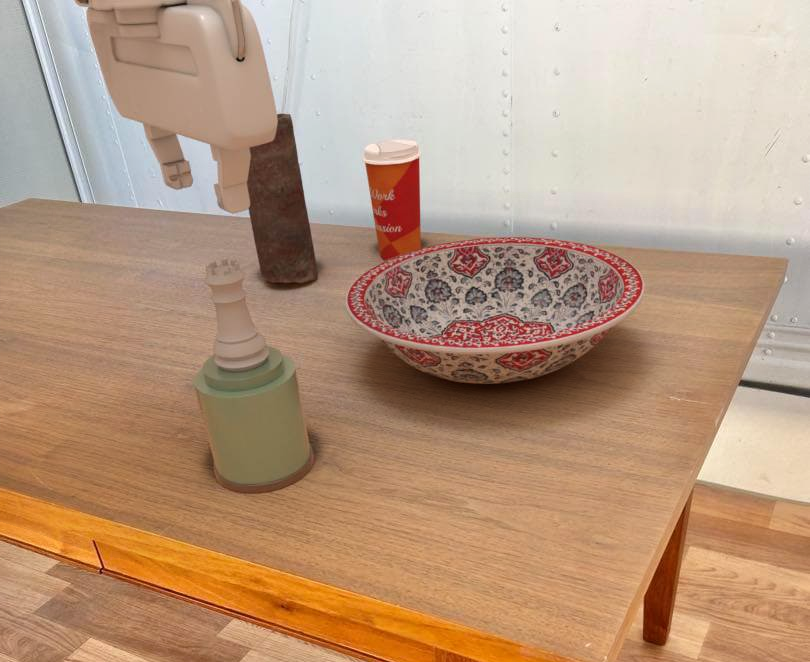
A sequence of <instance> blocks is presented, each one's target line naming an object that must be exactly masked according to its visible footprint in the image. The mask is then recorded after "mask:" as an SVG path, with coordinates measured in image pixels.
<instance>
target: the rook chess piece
mask: <svg viewBox="0 0 810 662" xmlns="http://www.w3.org/2000/svg"><path fill="white" fill-rule="evenodd" d="M229 261H230V264H229ZM229 261H228V258H221V259H220V263H221V265H218V263H217V261H216V260H213V261H211V262H209V264H206V265H205V267H204V268H205V272H206V273H205V275H204V277H203V282H204V284H206V285H207V286H208V287H209V289H211V292H212V293H211V297H210V300H211V302H212V303H213V304H214V309H215V314H216V325H217V327H216V329H217V330H216V333H215V337H214V338H215V340H214V342H213V344H212V352H213V353H214V354H216V357H215V360H214V361H215V363H216V364H217V365H218V366H219V367H220V368H221V369H223V370H226V371H230V372H241V371H247V370H251V369H254V368H256V367H258V366H260V365H262V364H263V363H264V362H265V361H266V359H267V357H268V354H269V350H268V349H267V348H266V347H265V345H266V344H267V339H266V338H265V336H264V335H263V334H262V333H261V332H260V331H259V328H258V327H257V326H256V325H255V323H254V321H253V319H252V316H251V314H250V311H249V308H248V305H247V304H248V303H247V300H246V297H247V294H248V292H247V291H246V290H245V289H244V287H243V282H244V280H245V278H246V275H247V272H246V271H244V270H243V269H242V268H241V266H240V262H239V261H238V260H237V259H234V258H231V259H230V260H229ZM266 346H267V345H266Z"/></svg>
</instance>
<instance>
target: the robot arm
mask: <svg viewBox="0 0 810 662" xmlns="http://www.w3.org/2000/svg"><path fill="white" fill-rule="evenodd" d="M74 3H75V4H77V6H79V7H82V8H87V9H86V23H87V27H88V32H89V35H90V39H91V42H92V45H93V48H94V49H93V50H94V52H95V55H96V59H97V61H98V64H99V68H100V71H101V74H102V78H103V80H104V83H105V86H106V90H107V92H108V95H109V97H110V99H111V101H112V103H113V105H114V107H115V108H116V110H117V112H118V114H119V115H120V116H121V117H122V118H124V119H128V120H130V121H134V122H137V123H141V124H142V126H143V129H144V134H145V138H146V140H147V142H148V144H149V146H150V148H151V150H152V152H153V154H154V156H155V157H156V160H157V162H158V163H159V167H160V171H161V175H162V179H163V183H164V184H165V186H167V187H169V188H171V189H173V190H178V191H179V190H182V189H187V188H190V187H192V185H193V184H194V177H193V175H192V168H191V164H190V161H189V160H187V159H186V158H185V155H184V152H183V150H182V146H181V144H180V140H179V137H178V135H179V136H182V137H185V138H189V139H192V140H195V141H198V142H201V143H203V144H204V143H205V144H208V145H209V147H210V151H211V156H212V159H213V161H215V162H216V163H217V164H216V165H217V183H214V184H213V188H214V192H215V197H216V199H217V200H216V202H217V206H218V207H219V209H220V210H223V211H225V212H227V213H230V214H238V213H241V212H245V211H248V210H249V209H248V208H249V207H250V199H249V193H248V187H247V180H248V173H249V167H250V160H251V154H250V148H249V147H254V146H258V145H261V144H265V143H269V142H271V141H273V140H274V138H275V135H276V129H277V123H278V120H277V114H278V112H277V108H276V107H277V106H276V102H275V101H276V100H275V97H274V91H273V88H272V82H271V79H270V78H271V77H270V73H269V69H268V65H267V64H268V63H267V61H266V55H265V52H264V46H263V43H262V40H261V37H260V33H259V30H258V27H257V24H256V21H255V19H254V17H253V15H252V13H251V11H250V10H249V9H248V8H247V7H246V6H245V5H244V4H242V2H241V0H74Z"/></svg>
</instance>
